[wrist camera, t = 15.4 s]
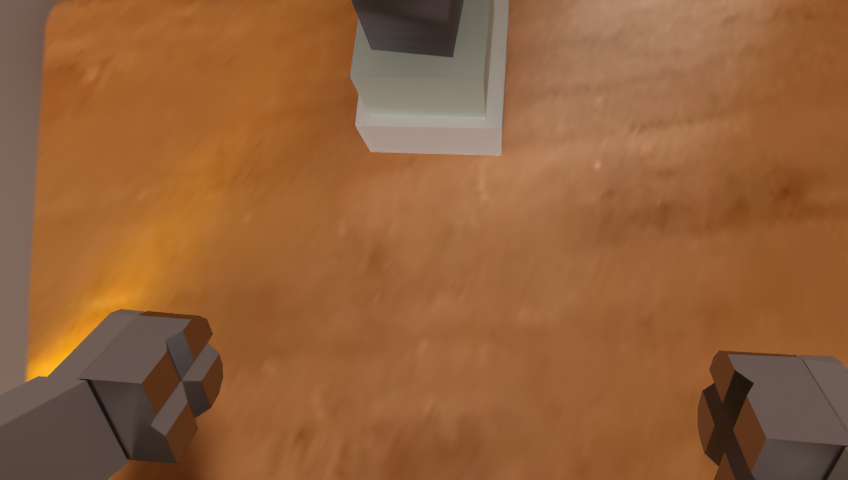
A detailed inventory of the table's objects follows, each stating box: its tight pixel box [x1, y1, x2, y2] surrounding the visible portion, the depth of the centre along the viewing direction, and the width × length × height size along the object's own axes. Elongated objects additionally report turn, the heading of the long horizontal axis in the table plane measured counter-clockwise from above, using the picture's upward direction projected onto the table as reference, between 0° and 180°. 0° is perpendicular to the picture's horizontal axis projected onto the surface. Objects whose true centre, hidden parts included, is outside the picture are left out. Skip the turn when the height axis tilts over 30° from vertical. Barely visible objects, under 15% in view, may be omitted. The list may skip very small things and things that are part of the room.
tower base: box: [355, 0, 509, 156], centre depth 40 cm, size 10×10×5 cm
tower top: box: [350, 0, 494, 118], centre depth 35 cm, size 8×8×5 cm
